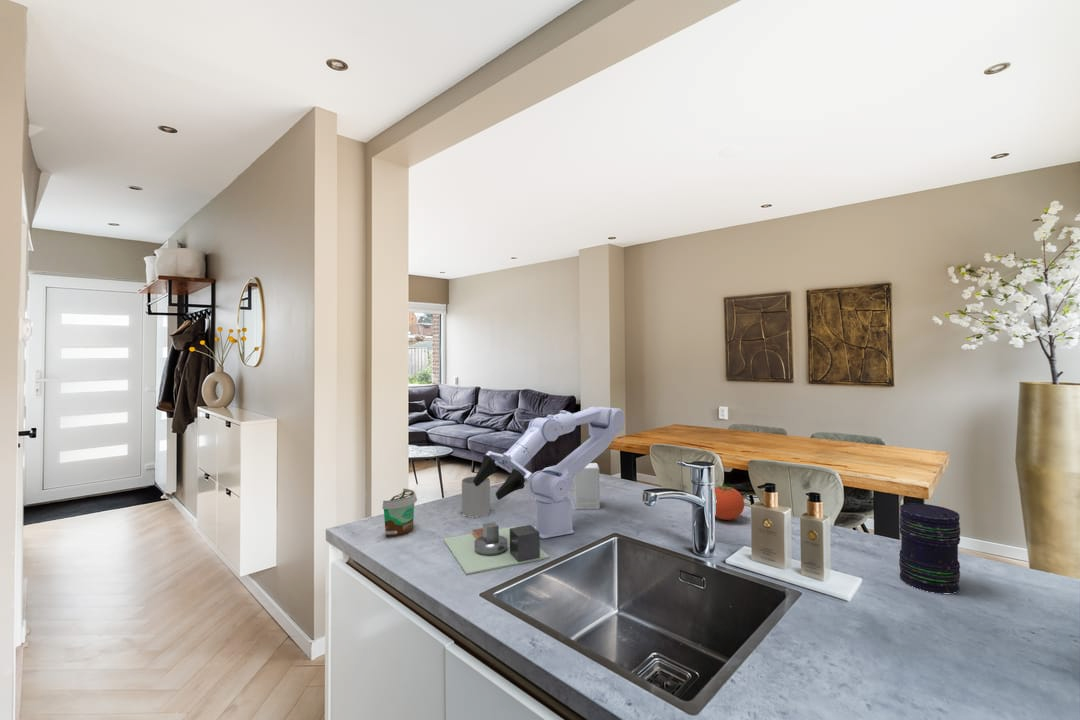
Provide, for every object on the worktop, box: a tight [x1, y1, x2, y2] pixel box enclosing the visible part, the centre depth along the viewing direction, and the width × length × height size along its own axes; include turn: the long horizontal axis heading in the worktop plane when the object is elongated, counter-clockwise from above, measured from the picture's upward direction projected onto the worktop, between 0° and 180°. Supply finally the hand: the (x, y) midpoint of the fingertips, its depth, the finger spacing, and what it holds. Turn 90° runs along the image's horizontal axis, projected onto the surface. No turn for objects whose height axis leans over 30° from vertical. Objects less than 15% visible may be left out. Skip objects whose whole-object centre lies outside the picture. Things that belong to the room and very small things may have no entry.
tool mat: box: [442, 525, 550, 576], centre depth 124 cm, size 20×22×1 cm
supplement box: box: [573, 462, 601, 510], centre depth 156 cm, size 7×7×13 cm
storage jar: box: [898, 502, 961, 594], centre depth 103 cm, size 10×10×15 cm
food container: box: [381, 488, 418, 538], centre depth 136 cm, size 12×6×10 cm, turn 168°
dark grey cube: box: [510, 524, 541, 562], centre depth 118 cm, size 5×5×6 cm
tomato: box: [714, 483, 745, 521], centre depth 142 cm, size 10×10×10 cm
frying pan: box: [471, 521, 508, 556], centre depth 126 cm, size 16×8×6 cm, turn 24°
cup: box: [461, 475, 491, 517], centre depth 151 cm, size 8×8×10 cm
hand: (485, 490), depth 120 cm, fingers open, 7 cm apart
